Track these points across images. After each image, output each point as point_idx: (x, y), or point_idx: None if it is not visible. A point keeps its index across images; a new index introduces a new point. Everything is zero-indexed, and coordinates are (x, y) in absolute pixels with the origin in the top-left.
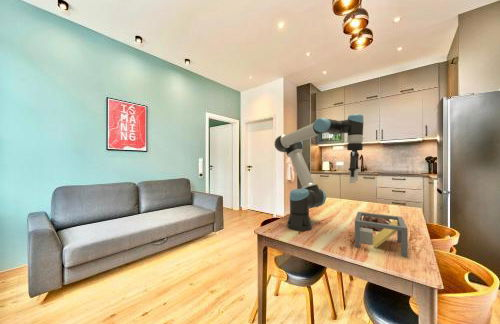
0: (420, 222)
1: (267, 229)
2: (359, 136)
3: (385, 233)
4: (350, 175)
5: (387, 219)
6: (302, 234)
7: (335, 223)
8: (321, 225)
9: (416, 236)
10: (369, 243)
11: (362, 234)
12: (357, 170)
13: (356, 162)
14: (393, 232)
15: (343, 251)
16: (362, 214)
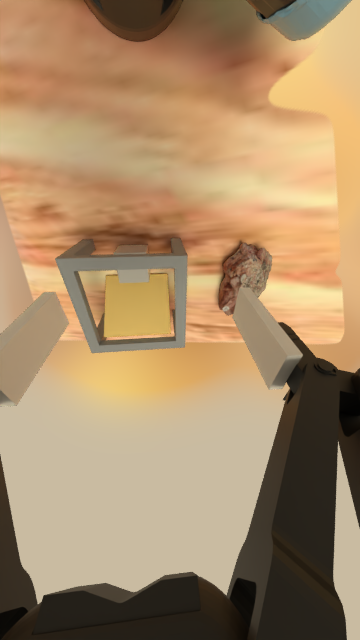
0: (310, 342)
1: None
2: None
3: (126, 306)
4: (7, 335)
5: (232, 310)
6: (37, 9)
7: (253, 151)
8: (206, 87)
9: (218, 333)
10: None
11: None
12: (264, 377)
13: (261, 491)
14: (105, 324)
15: (31, 218)
16: (174, 269)
